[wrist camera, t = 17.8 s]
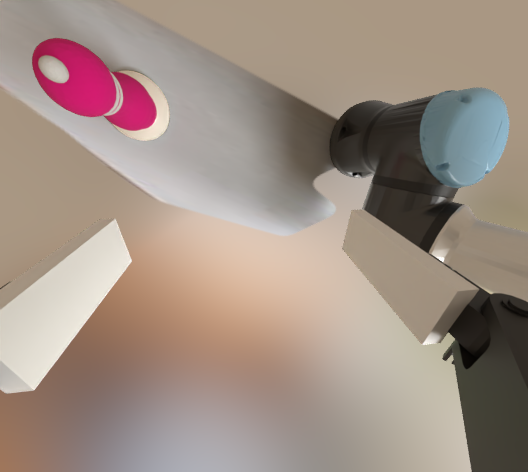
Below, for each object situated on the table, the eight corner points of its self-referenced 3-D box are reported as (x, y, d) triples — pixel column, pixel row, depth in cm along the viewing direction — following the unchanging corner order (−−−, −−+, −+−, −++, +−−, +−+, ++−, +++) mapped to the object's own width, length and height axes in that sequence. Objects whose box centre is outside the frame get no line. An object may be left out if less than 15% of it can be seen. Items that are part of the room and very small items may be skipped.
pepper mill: (126, 137, 35) (32, 128, 17) (101, 87, 32) (-46, 13, 14) (167, 126, 36) (118, 107, 18) (147, 77, 32) (62, -8, 15)
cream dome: (181, 123, 37) (181, 123, 36) (135, 151, 37) (133, 151, 36) (142, 59, 32) (140, 57, 31) (89, 91, 32) (85, 90, 31)
